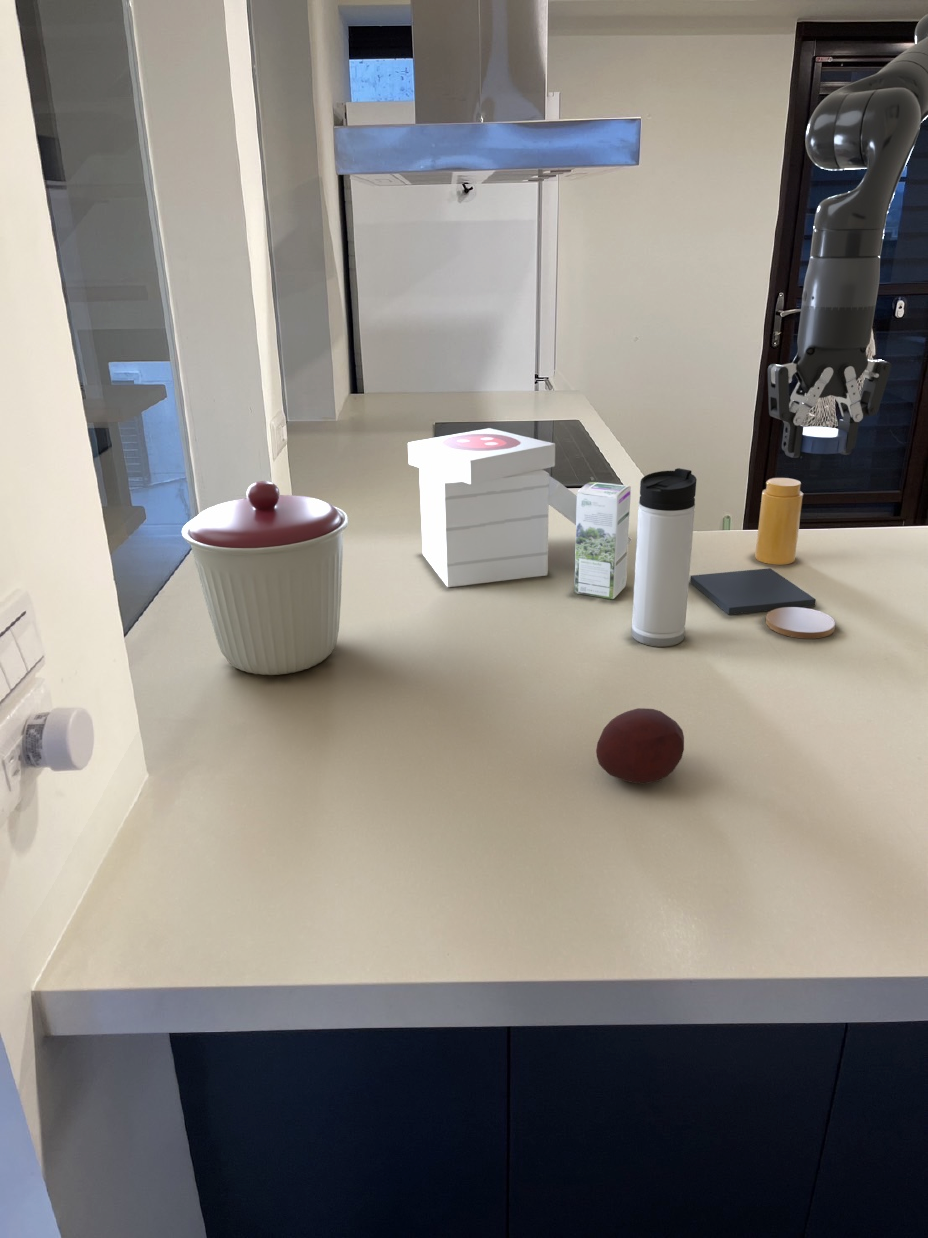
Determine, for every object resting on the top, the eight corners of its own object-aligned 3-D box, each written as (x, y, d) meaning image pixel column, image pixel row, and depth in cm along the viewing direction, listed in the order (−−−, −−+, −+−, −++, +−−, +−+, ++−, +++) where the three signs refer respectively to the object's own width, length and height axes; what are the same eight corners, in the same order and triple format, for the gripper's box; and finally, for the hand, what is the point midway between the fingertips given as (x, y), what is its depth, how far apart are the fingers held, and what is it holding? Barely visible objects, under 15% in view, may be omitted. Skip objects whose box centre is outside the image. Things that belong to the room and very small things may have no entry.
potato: (702, 786, 80) (708, 727, 78) (619, 806, 78) (622, 746, 75) (658, 745, 87) (662, 690, 84) (581, 763, 84) (582, 706, 82)
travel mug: (696, 635, 110) (710, 473, 102) (664, 652, 106) (676, 484, 98) (652, 621, 114) (663, 464, 106) (621, 637, 110) (629, 475, 102)
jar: (782, 550, 137) (792, 475, 132) (802, 563, 132) (812, 485, 127) (748, 553, 136) (756, 478, 131) (766, 566, 131) (775, 488, 126)
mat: (769, 574, 128) (770, 567, 127) (815, 606, 117) (816, 599, 117) (689, 582, 126) (690, 575, 126) (728, 615, 115) (729, 607, 115)
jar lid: (807, 455, 102) (809, 438, 101) (782, 443, 107) (784, 427, 106) (855, 452, 103) (857, 435, 102) (827, 441, 108) (830, 425, 107)
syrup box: (627, 586, 125) (632, 483, 119) (613, 601, 120) (618, 495, 114) (588, 580, 127) (591, 479, 122) (572, 594, 123) (575, 490, 117)
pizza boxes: (636, 568, 131) (643, 445, 124) (436, 594, 124) (431, 464, 117) (584, 530, 148) (588, 419, 141) (405, 550, 141) (399, 434, 134)
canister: (330, 697, 97) (313, 508, 89) (174, 686, 100) (143, 502, 92) (376, 629, 113) (365, 463, 105) (240, 622, 117) (219, 460, 108)
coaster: (812, 610, 116) (813, 604, 116) (847, 635, 109) (848, 629, 108) (754, 615, 115) (754, 610, 114) (786, 641, 107) (787, 635, 107)
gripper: (794, 306, 94) (775, 466, 101) (920, 301, 96) (893, 458, 103) (760, 301, 101) (744, 451, 107) (878, 296, 103) (855, 444, 110)
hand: (817, 454), depth 105 cm, fingers closed on jar lid, 5 cm apart
